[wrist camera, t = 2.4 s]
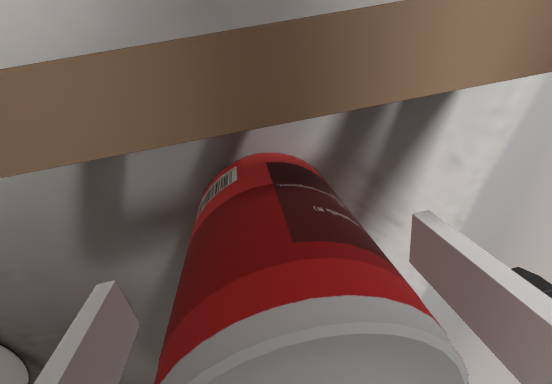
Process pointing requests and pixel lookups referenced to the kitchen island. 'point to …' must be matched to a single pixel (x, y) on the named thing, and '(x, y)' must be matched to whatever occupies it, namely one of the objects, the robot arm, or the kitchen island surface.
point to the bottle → (12, 368)
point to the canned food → (294, 291)
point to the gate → (262, 77)
